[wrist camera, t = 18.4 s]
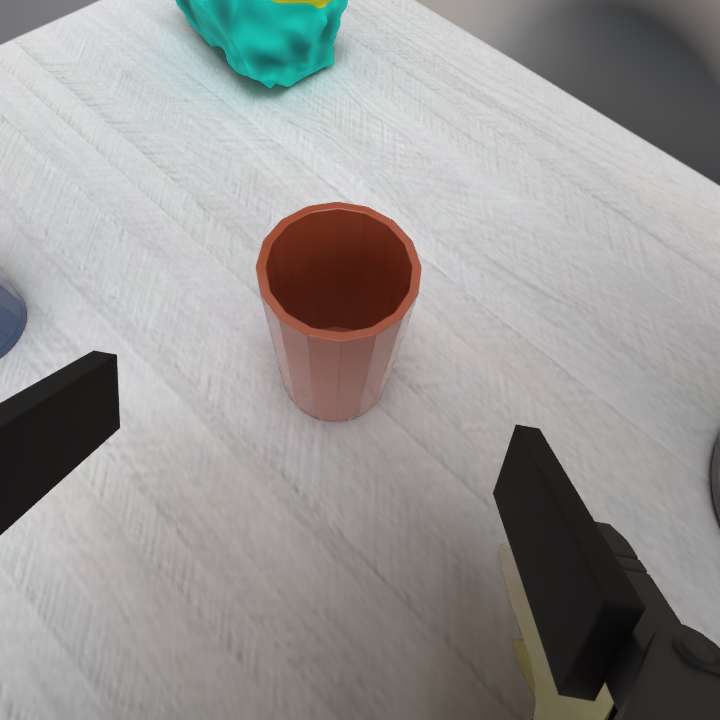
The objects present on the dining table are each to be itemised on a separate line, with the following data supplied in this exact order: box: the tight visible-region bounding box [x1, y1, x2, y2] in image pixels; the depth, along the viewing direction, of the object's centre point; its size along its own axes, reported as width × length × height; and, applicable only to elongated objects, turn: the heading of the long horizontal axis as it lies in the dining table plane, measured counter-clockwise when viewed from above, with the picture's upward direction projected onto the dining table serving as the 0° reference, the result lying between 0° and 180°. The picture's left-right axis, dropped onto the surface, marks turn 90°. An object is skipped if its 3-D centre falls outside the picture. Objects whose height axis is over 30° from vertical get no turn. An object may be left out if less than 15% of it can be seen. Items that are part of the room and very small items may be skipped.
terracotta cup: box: [256, 202, 421, 422], centre depth 24 cm, size 7×7×12 cm
